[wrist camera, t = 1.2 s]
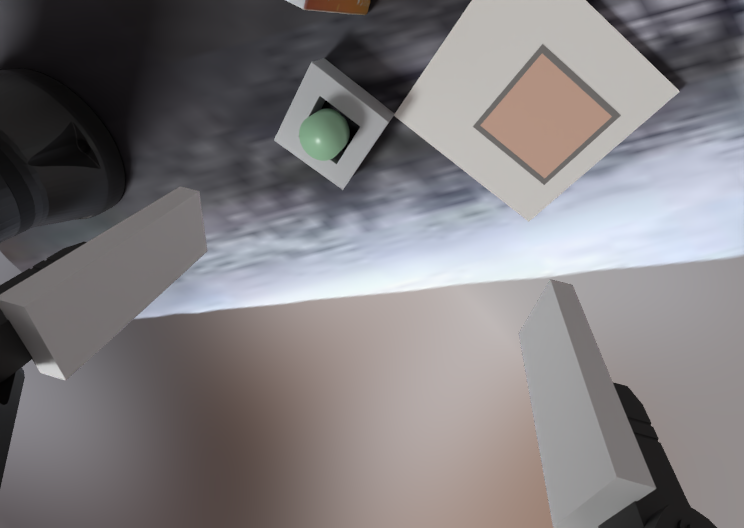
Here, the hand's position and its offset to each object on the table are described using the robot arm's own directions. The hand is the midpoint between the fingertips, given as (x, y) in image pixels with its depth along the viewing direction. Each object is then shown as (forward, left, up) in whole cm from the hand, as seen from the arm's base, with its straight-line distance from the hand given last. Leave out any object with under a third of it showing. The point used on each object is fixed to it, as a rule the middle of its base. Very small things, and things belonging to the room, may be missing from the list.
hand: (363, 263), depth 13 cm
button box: (-6, -4, -20) cm, 22 cm away
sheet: (+5, +6, -20) cm, 22 cm away
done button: (-6, -4, -18) cm, 19 cm away
